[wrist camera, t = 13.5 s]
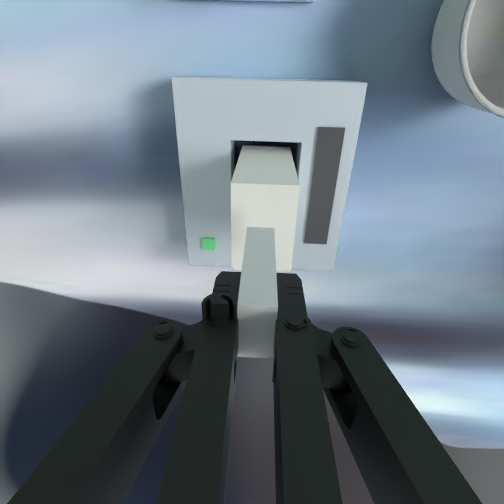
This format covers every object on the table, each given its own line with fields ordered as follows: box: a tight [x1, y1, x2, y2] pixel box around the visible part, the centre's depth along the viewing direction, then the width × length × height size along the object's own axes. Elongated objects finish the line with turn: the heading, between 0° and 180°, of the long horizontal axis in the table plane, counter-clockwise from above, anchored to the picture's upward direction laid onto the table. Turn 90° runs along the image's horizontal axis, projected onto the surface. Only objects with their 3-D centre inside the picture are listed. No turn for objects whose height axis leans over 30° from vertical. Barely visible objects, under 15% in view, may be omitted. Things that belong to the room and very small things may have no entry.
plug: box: [231, 145, 300, 272], centre depth 25 cm, size 4×6×12 cm, turn 179°
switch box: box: [172, 76, 368, 271], centre depth 28 cm, size 14×16×4 cm
